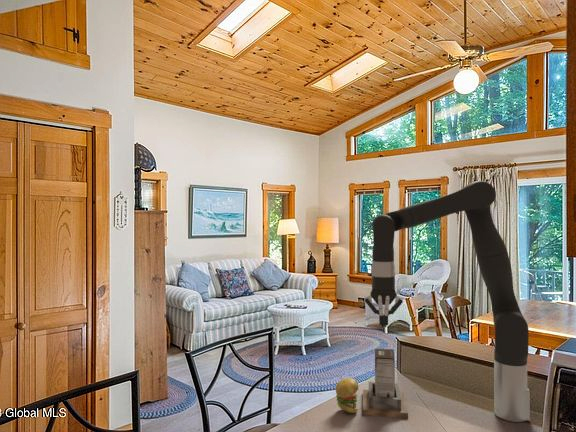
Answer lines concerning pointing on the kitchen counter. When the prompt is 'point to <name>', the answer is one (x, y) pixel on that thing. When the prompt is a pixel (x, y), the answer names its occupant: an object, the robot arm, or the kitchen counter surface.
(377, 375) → the coffee box
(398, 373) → the kitchen counter surface
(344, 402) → the hamburger
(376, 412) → the socket stand
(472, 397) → the kitchen counter surface
